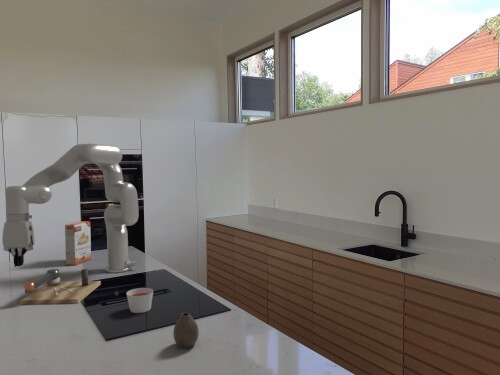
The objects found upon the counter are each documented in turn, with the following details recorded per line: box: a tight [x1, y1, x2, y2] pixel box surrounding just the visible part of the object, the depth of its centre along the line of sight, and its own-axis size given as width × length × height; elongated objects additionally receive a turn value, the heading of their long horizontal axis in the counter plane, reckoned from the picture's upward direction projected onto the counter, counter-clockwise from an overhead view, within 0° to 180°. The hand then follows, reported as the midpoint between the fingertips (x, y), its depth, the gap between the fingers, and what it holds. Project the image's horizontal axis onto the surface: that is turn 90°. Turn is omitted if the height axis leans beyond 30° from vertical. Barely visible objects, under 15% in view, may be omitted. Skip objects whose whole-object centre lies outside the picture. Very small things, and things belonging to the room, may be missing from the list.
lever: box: [23, 268, 60, 294], centre depth 155 cm, size 22×4×3 cm, turn 1°
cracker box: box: [64, 220, 92, 266], centre depth 209 cm, size 14×6×21 cm, turn 168°
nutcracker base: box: [19, 268, 102, 305], centre depth 157 cm, size 21×23×8 cm
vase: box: [172, 312, 199, 349], centre depth 110 cm, size 7×7×9 cm
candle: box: [126, 287, 154, 314], centre depth 138 cm, size 9×9×6 cm
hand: (18, 265), depth 152 cm, fingers closed
